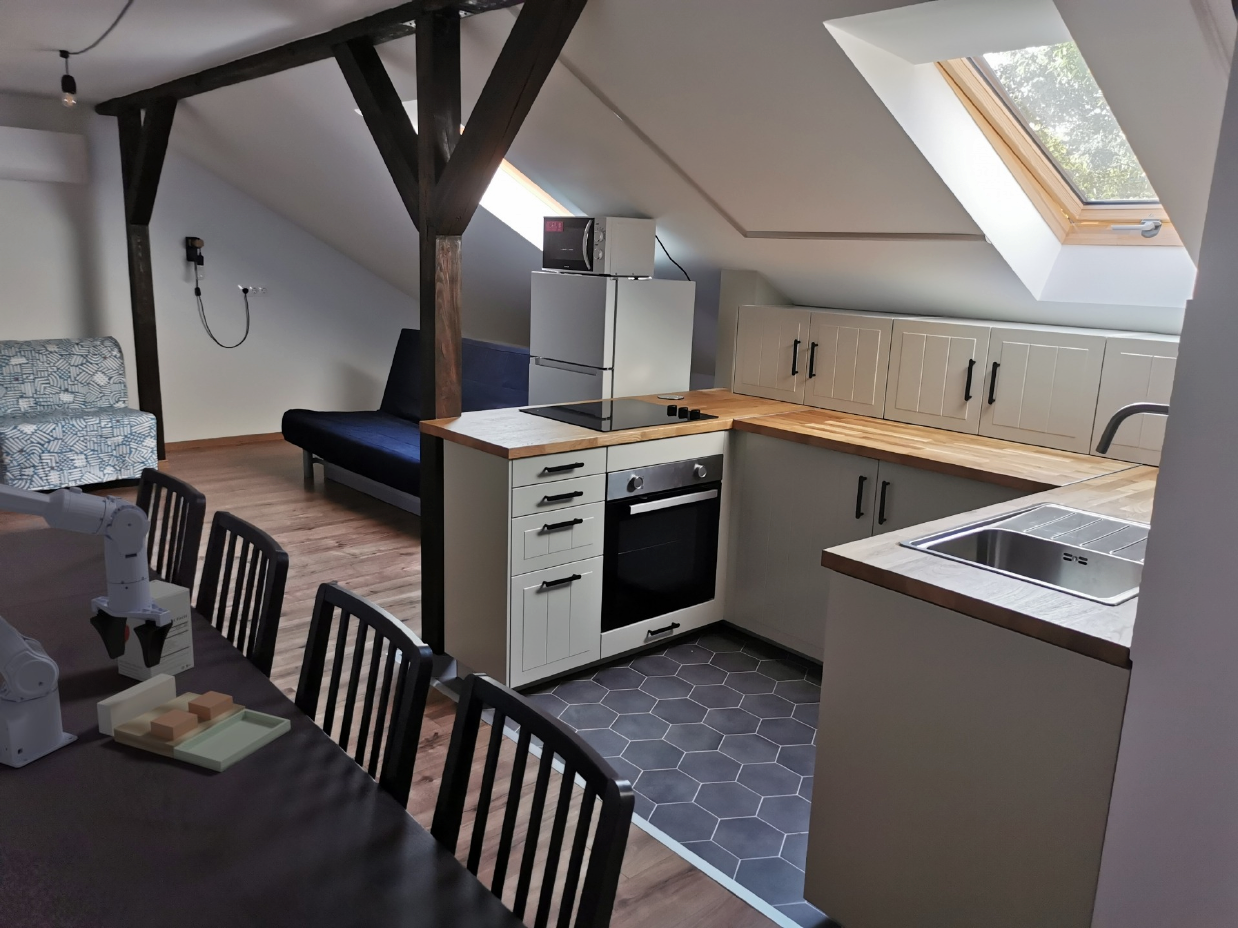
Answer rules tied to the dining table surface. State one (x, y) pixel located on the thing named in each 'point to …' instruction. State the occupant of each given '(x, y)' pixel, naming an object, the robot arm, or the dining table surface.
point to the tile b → (210, 705)
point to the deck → (141, 737)
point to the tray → (232, 740)
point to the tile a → (174, 724)
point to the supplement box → (176, 643)
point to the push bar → (135, 702)
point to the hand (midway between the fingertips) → (134, 660)
